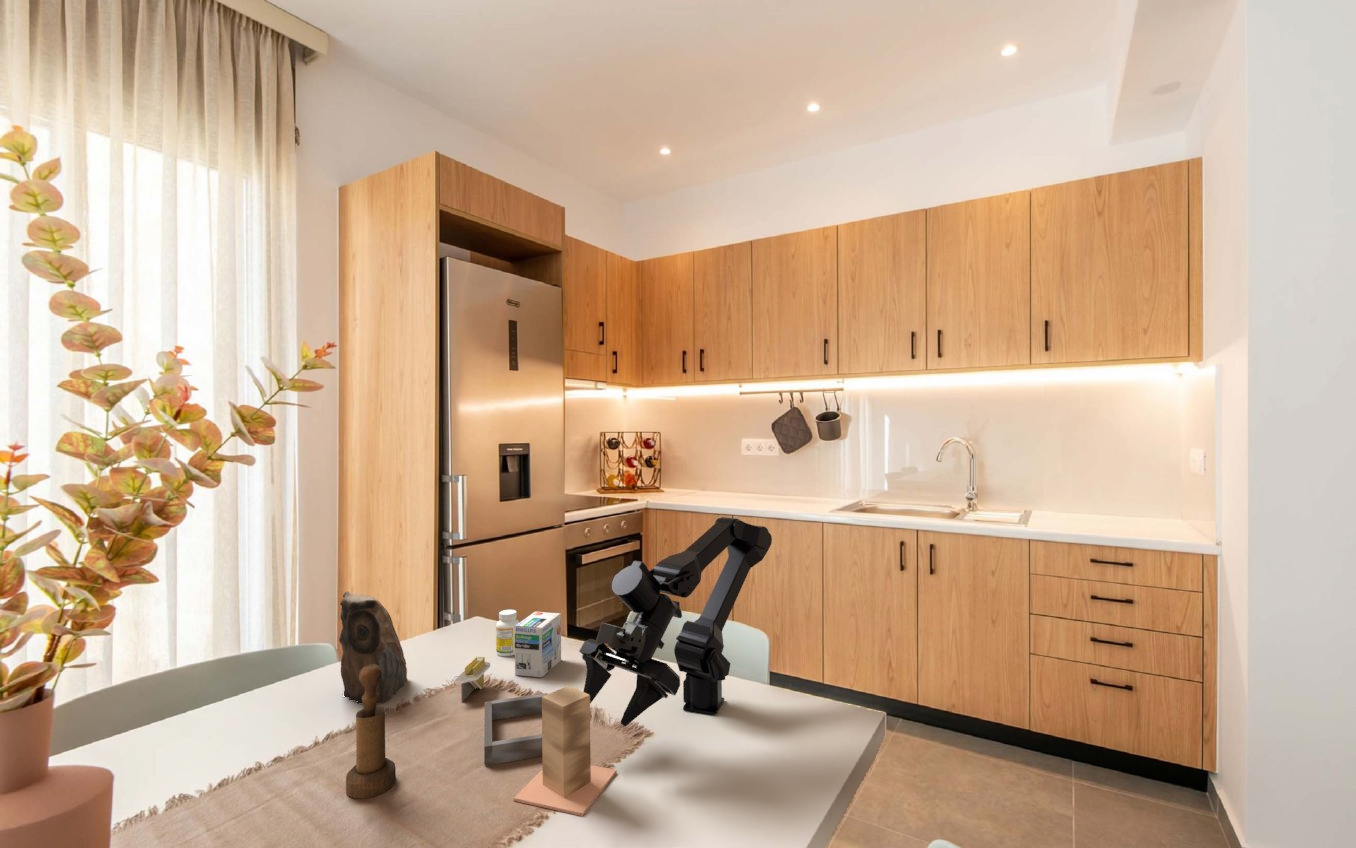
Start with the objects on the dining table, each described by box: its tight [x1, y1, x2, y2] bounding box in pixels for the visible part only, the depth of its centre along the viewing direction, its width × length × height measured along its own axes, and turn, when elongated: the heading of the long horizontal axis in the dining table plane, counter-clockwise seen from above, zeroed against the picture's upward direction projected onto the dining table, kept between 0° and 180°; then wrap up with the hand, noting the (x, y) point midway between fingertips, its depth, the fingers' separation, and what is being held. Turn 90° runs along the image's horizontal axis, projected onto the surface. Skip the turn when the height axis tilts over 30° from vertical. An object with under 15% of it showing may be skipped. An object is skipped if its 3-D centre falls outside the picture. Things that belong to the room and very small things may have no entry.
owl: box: [338, 591, 408, 705], centre depth 123 cm, size 13×13×20 cm
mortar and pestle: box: [345, 664, 397, 800], centre depth 91 cm, size 7×6×18 cm
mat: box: [513, 764, 617, 817], centre depth 90 cm, size 11×11×1 cm
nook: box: [483, 693, 548, 767], centre depth 105 cm, size 11×16×3 cm
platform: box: [454, 656, 491, 702], centre depth 122 cm, size 12×18×7 cm, turn 175°
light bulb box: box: [514, 611, 562, 678], centre depth 135 cm, size 11×7×11 cm, turn 168°
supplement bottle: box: [495, 609, 520, 657], centre depth 144 cm, size 5×5×10 cm
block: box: [541, 685, 592, 798], centre depth 90 cm, size 5×5×13 cm
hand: (602, 716), depth 96 cm, fingers open, 9 cm apart
